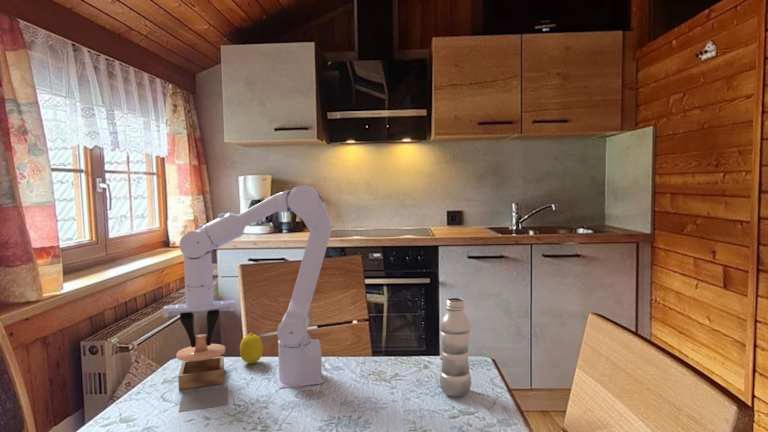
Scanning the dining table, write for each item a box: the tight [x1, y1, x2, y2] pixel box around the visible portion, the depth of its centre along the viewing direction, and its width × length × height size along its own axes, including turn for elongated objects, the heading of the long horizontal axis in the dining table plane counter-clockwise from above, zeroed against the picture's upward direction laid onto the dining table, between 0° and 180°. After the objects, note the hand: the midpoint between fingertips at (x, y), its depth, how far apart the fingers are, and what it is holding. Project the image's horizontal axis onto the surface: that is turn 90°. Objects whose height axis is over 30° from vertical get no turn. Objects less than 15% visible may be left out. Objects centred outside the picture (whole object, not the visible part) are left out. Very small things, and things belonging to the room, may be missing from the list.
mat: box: [178, 385, 229, 413], centre depth 95 cm, size 9×9×1 cm
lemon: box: [239, 332, 264, 365], centre depth 113 cm, size 6×6×8 cm
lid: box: [176, 333, 226, 362], centre depth 102 cm, size 10×10×4 cm
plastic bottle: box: [439, 297, 472, 398], centre depth 96 cm, size 6×7×20 cm
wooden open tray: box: [177, 355, 225, 391], centre depth 104 cm, size 9×9×4 cm
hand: (201, 345), depth 102 cm, fingers closed on lid, 3 cm apart
